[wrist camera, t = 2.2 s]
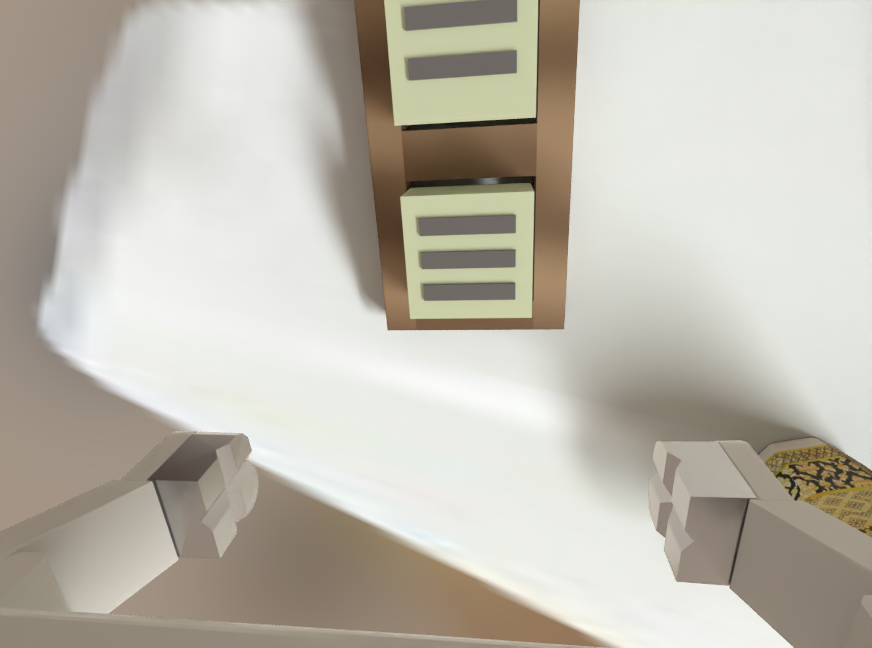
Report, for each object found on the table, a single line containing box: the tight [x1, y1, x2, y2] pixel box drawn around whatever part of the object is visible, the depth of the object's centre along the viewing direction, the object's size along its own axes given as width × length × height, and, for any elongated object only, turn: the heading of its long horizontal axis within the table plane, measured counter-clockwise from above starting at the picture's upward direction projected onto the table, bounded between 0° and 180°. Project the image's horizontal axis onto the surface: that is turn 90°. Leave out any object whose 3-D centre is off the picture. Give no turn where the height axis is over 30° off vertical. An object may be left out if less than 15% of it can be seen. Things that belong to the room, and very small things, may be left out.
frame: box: [354, 0, 580, 330], centre depth 24 cm, size 28×10×2 cm, turn 3°
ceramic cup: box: [758, 437, 872, 537], centre depth 28 cm, size 13×10×10 cm
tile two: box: [384, 0, 538, 126], centre depth 21 cm, size 6×6×3 cm
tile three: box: [400, 183, 534, 319], centre depth 25 cm, size 6×6×3 cm
